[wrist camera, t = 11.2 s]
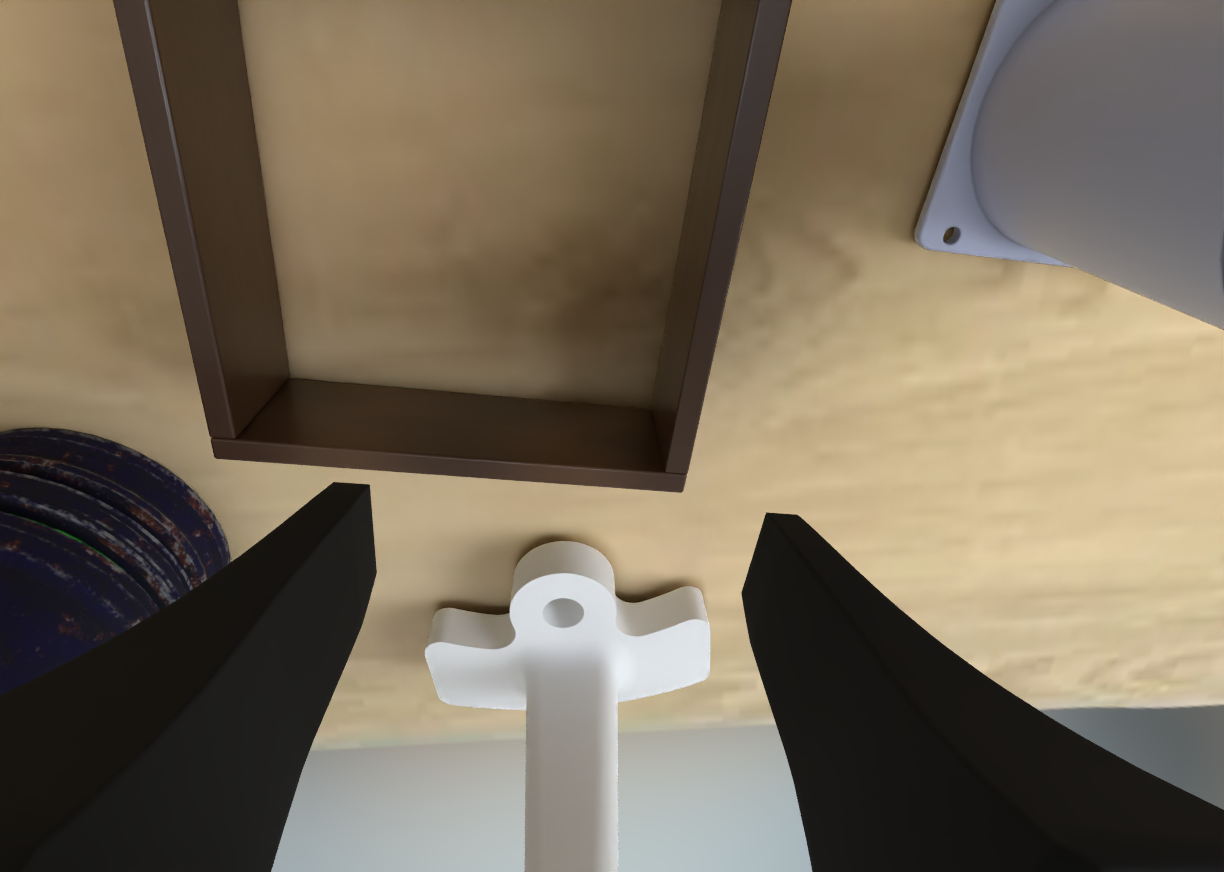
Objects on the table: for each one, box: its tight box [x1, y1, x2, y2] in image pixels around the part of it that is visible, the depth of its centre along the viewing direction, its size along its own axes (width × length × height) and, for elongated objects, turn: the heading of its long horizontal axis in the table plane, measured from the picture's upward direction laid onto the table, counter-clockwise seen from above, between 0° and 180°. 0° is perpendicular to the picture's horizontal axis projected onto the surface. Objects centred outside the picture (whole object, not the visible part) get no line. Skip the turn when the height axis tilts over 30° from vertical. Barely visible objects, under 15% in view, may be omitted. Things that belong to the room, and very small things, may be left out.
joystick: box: [425, 541, 710, 872], centre depth 18 cm, size 11×8×20 cm
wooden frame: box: [113, 0, 792, 493], centre depth 17 cm, size 13×13×4 cm
